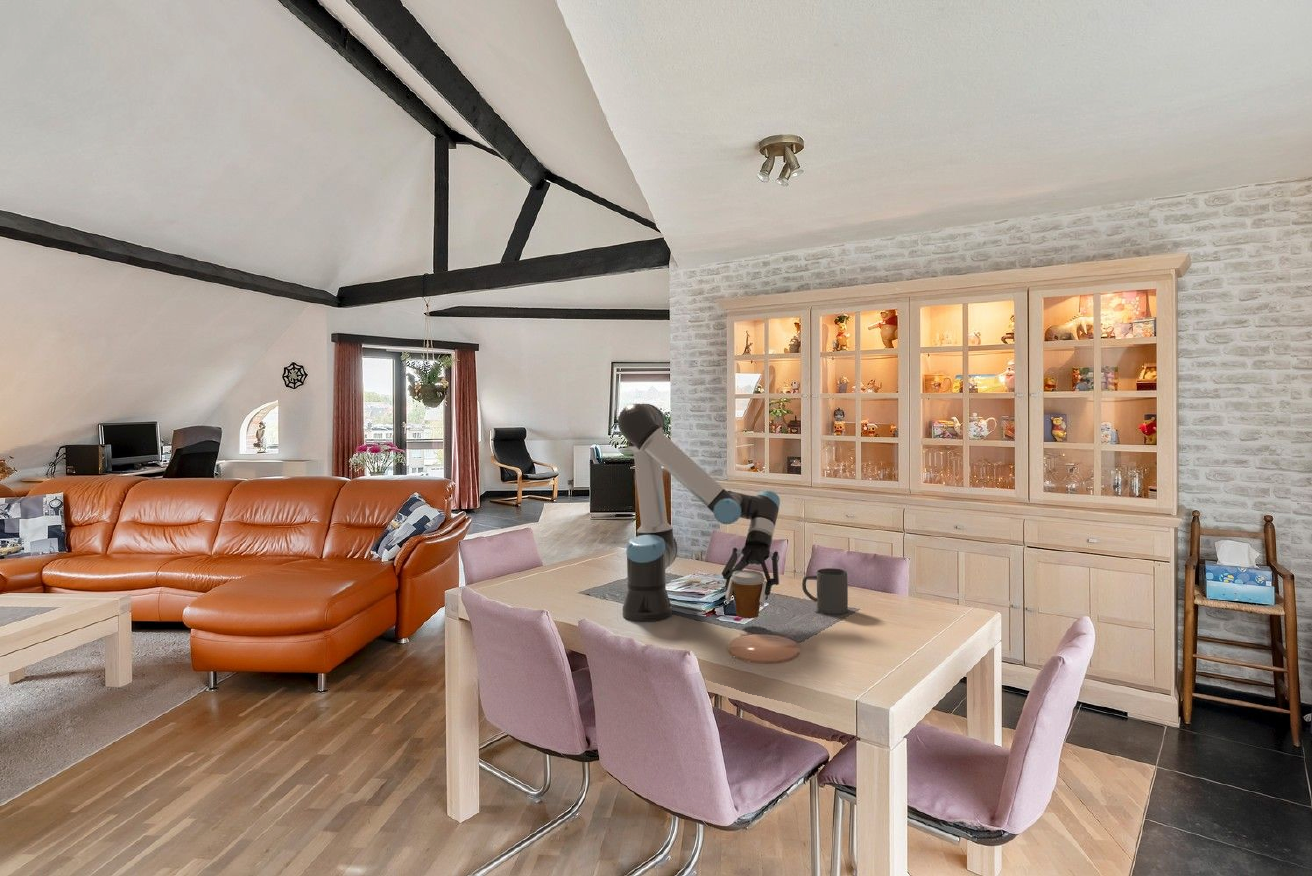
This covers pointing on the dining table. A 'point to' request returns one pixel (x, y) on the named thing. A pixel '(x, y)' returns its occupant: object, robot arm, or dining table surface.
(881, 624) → the dining table surface
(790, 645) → the terracotta dish
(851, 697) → the dining table surface
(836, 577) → the mug
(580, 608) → the dining table surface
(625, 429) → the robot arm
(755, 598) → the disposable coffee cup
